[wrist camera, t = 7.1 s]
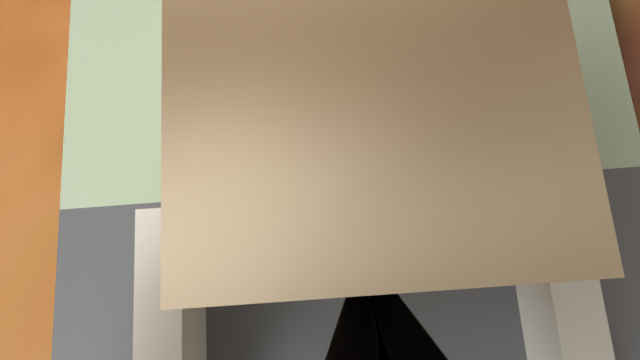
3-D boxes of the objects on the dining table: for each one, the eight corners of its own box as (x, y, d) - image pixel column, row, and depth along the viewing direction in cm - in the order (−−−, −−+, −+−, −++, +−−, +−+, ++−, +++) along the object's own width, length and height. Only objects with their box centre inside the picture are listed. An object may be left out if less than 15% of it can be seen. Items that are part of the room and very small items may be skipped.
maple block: (460, 269, 12) (625, 278, 5) (256, 283, 12) (160, 310, 5) (427, 22, 14) (522, -217, 7) (246, 36, 14) (163, -186, 7)
